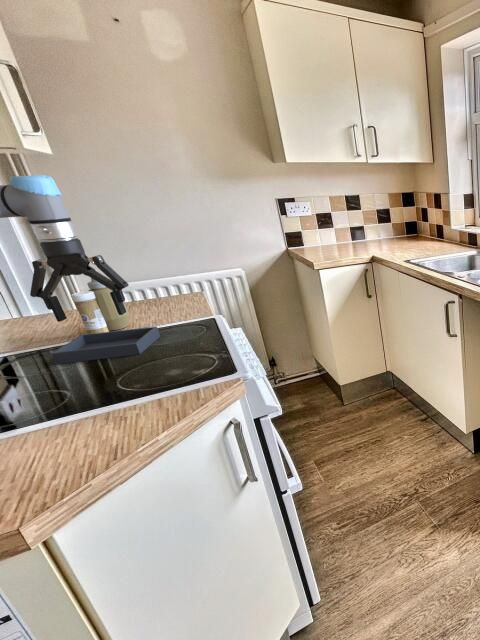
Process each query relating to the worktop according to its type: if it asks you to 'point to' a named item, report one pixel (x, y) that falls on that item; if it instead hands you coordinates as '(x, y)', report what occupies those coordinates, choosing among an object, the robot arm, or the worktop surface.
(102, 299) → the squeeze bottle
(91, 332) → the sprinkles bottle
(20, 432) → the worktop surface
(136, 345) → the serving tray
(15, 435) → the worktop surface
